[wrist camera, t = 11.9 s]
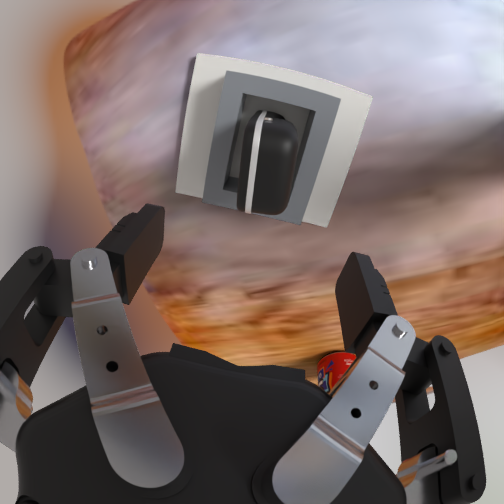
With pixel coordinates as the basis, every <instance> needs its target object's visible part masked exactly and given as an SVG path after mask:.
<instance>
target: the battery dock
mask: <svg viewBox="0 0 504 504" xmlns="http://www.w3.org/2000/svg"><path fill="white" fill-rule="evenodd" d="M372 98H373V97H372V96H370V95H367V94H365V93H362V92H359V91H357V90H354V89H351V88H349V87H346V86H343V85H340V84H337V83H334V82H331V81H328V80H325V79H322V78H319V77H315V76H312V75H308V74H305V73H301V72H298V71H294V70H290V69H286V68H282V67H278V66H273V65H269V64H264V63H259V62H254V61H249V60H243V59H237V58H231V57H224V56H217V55H208V54H199V53H197V57H196V62H195V66H194V71H193V76H192V81H191V87H190V92H189V98H188V103H187V109H186V115H185V121H184V128H183V135H182V142H181V149H180V156H179V164H178V173H177V182H176V191H175V193H180V194H185V195H190V196H195V197H200V198H203V199H202V202H203V203H208V204H212V205H217V206H221V207H226V208H230V209H235V210H238V209H237V191H238V180H239V170H240V161H241V151H242V143H243V136H244V131H245V127H246V125H247V123H248V121H249V120H250V118H251V117H252V116H253V115H254V114H255V113H256V111H258V110H262V111H263V110H267V111H270V112H275V113H278V114H280V115H282V116H283V117H284V118H285V120H287V121H289V122H291V123H293V125H294V126H295V128H296V129H297V133H298V138H299V144H298V152H297V158H296V164H295V169H294V175H293V180H292V186H291V191H290V197H289V201H288V205H287V208H286V209H285V211H284V212H282V213H281V214H278V215H266V214H259V213H252V214H256V215H261V216H265V217H269V218H273V219H277V220H281V221H285V222H290V223H294V224H298V225H301V222H302V221H303V222H307V223H310V224H314V225H318V226H322V227H326V228H327V226H328V224H329V221H330V218H331V216H332V213H333V211H334V208H335V206H336V203H337V200H338V198H339V195H340V192H341V190H342V187H343V184H344V182H345V179H346V176H347V173H348V171H349V168H350V165H351V162H352V159H353V156H354V154H355V151H356V148H357V145H358V142H359V139H360V136H361V133H362V130H363V127H364V124H365V121H366V117H367V114H368V111H369V108H370V105H371V101H372ZM243 212H244V211H243Z"/></svg>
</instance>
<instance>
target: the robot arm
mask: <svg viewBox="0 0 504 504" xmlns="http://www.w3.org/2000/svg"><path fill="white" fill-rule="evenodd" d="M164 216H165V209H164V207H162V206H157V205H152V204H145V206H144V207H143V208H142V209H141V210H140V211H139V212H138V213H134V212H133V213H131V214H129V215H127V216H125V217H123V218H122V219H121V220H120V221H119V222H118V223H117V225H115V227H114V228H113V229H112V231H110V232H109V233H108V234H107V235H106V236H105V238H104V239H103V240H102V241H101V242H100V243H99V244H98V245H97V247H96V248H87V249H83V250H81V251H79V252H77V253H76V254H75V255H74V256H73V257H72V259H71V260H62V259H60V260H59V259H54V258H53V255H52V251H51V250H50V249H49V248H48V247H44V246H38V247H34V248H31V249H29V250H28V251H26V252H25V253H24V254H23V255H22V256H21V257H20V258H19V259H18V260H17V262H16V263H15V264H14V265H13V266H12V267H11V269H10V270H9V271H8V272H7V273H6V274H5V275H4V277H3V278H2V279H1V281H0V442H1V443H2V444H4V445H5V446H7V447H8V448H10V449H11V450H13V451H14V452H16V458H17V465H18V474H19V475H18V476H19V492H18V497H17V501H16V503H15V504H470V503H473V502H475V501H477V500H478V499H479V498H480V497H481V496H482V494H483V492H484V490H485V486H486V474H485V465H484V458H483V451H482V445H481V440H480V434H479V429H478V424H477V420H476V416H475V411H474V407H473V403H472V400H471V396H470V392H469V388H468V385H467V381H466V378H465V375H464V372H463V369H462V366H461V362H460V360H459V357H458V354H457V351H456V348H455V347H454V345H453V344H452V343H451V341H450V340H448V339H447V338H445V337H443V336H440V335H438V336H435V337H434V338H433V339H432V340H431V341H430V342H429V343H428V342H426V341H423V340H421V339H419V338H417V337H416V335H415V331H414V329H413V327H412V326H411V324H410V323H409V322H408V321H407V320H405V319H404V318H402V317H400V316H398V314H397V312H396V309H395V306H394V303H393V301H392V298H391V295H389V294H390V293H389V290H388V288H387V285H386V283H385V280H384V278H383V276H382V275H381V274H380V273H379V272H378V270H377V269H374V266H373V264H372V261H371V259H370V257H369V256H368V255H364V254H360V253H356V252H352V253H351V254H350V255H349V257H348V259H347V261H346V263H345V266H344V268H343V270H342V272H341V274H340V276H339V278H338V280H337V283H336V288H335V294H336V299H337V305H338V311H339V316H340V322H341V328H342V335H343V341H344V348H345V353H353V354H356V358H355V360H354V361H353V362H352V363H351V365H350V366H349V367H348V369H347V370H346V371H345V373H344V374H343V375H342V377H341V378H340V379H339V381H338V382H337V383H336V384H335V386H334V387H333V388H332V389H331V391H330V392H329V393H327V392H326V391H324V390H323V389H322V388H320V387H319V386H317V385H316V384H314V383H312V382H310V381H307V380H305V370H302V369H295V368H289V367H282V366H276V365H266V366H237V365H234V364H232V363H230V362H228V361H225V360H223V359H221V358H219V357H217V356H215V355H212V354H210V353H208V352H206V351H203V350H198V349H194V348H190V347H187V346H183V345H179V344H175V343H173V345H172V348H171V351H170V352H156V353H150V354H147V355H142V356H140V354H139V352H138V349H137V346H136V343H135V341H134V338H133V335H132V332H131V329H130V326H129V323H128V320H127V317H126V314H125V310H124V307H123V304H122V303H124V304H127V305H129V304H130V303H131V301H132V299H133V297H134V295H135V294H136V292H137V290H138V288H139V287H140V285H141V283H142V281H143V280H144V278H145V276H146V275H147V273H148V271H149V269H150V268H151V266H152V264H153V263H154V261H155V259H156V258H157V256H158V254H159V253H160V251H161V248H162V244H163V236H164ZM33 300H34V303H35V304H34V305H33V307H32V308H31V310H30V311H29V313H28V314H27V316H26V317H25V319H24V315H25V312H26V310H27V309H28V307H29V306H30V304H31V303H32V301H33ZM66 317H73V320H74V326H75V333H76V339H77V345H78V350H79V355H80V360H81V365H82V369H83V374H84V378H85V382H86V386H84V387H82V388H80V389H79V390H77V391H75V392H73V393H71V394H69V395H67V396H65V397H63V398H61V399H60V400H58V401H56V402H54V403H52V404H50V405H48V406H46V407H44V408H42V409H40V410H38V411H36V412H35V413H33V414H32V415H31V413H32V411H33V408H32V402H33V396H32V392H31V389H30V386H31V383H32V381H33V379H34V377H35V375H36V373H37V371H38V368H39V366H40V364H41V362H42V360H43V358H44V356H45V354H46V352H47V350H48V348H49V347H50V345H51V343H52V341H53V339H54V337H55V335H56V334H57V332H58V330H59V328H60V326H61V325H62V323H63V321H64V319H65V318H66ZM431 384H432V385H433V390H434V394H435V404H434V406H433V408H432V409H431V410H430V409H429V404H428V398H427V393H426V389H427V388H428V387H429V386H430V385H431ZM394 397H395V400H396V407H397V415H398V423H399V434H400V446H401V461H402V463H401V465H400V467H399V469H398V472H397V474H396V475H395V474H394V473H393V472H392V470H391V469H390V468H389V467H388V466H387V465H386V463H385V462H384V461H383V460H382V458H381V457H380V456H379V455H378V454H377V452H376V451H375V450H374V449H373V447H372V446H371V445H370V444H369V442H370V440H371V439H372V437H373V435H374V434H375V432H376V430H377V428H378V427H379V425H380V423H381V422H382V420H383V418H384V416H385V414H386V413H387V411H388V409H389V406H390V405H391V403H392V401H393V399H394Z"/></svg>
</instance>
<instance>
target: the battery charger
mask: <svg viewBox="0 0 504 504" xmlns="http://www.w3.org/2000/svg"><path fill="white" fill-rule="evenodd" d="M298 144H299V138H298V133H297V129H296V128H295V126H294V125H293V123H291V122H289V121H287V120H285V118H284V117H283V116H282V115H280V114H278V113H275V112H270V111H267V110H263V111H262V110H258V111H256V113H255V114H254V115H253V116H252V117H251V118H250V120H249V121H248V123H247V125H246V127H245V131H244V136H243V143H242V151H241V161H240V170H239V180H238V191H237V209H238V210H239V211H244V212H245V213H248V214H251V213H259V214H266V215H278V214H281V213H282V212H284V211H285V209H286V208H287V205H288V201H289V197H290V191H291V186H292V180H293V175H294V169H295V164H296V158H297V152H298Z"/></svg>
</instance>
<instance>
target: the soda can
mask: <svg viewBox="0 0 504 504" xmlns="http://www.w3.org/2000/svg"><path fill="white" fill-rule="evenodd" d="M355 358H356V356H355V355H354V354H352V353H345V352H335V353H332V354H329V355H327V356H325V357H323V358H322V359H321V360H320V361H319V362H318V364H317V375H318V386H319V387H320V388H322V389H323V390H324V391H326V392H327V393H329V392H330V391H331V389H332V388H333V387H334V386H335V384H336V383H337V382H338V381H339V379H340V378H341V377H342V375H343V374H344V373H345V371H346V370H347V369H348V367H349V366H350V365H351V363H352V362H353V361H354V360H355Z"/></svg>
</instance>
